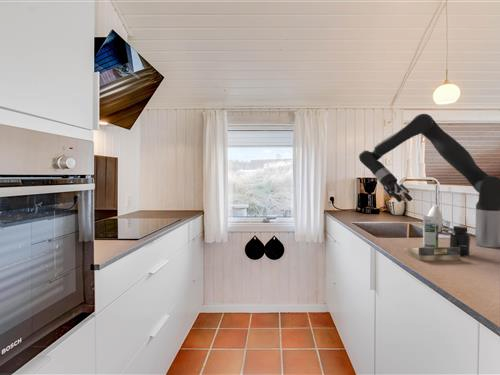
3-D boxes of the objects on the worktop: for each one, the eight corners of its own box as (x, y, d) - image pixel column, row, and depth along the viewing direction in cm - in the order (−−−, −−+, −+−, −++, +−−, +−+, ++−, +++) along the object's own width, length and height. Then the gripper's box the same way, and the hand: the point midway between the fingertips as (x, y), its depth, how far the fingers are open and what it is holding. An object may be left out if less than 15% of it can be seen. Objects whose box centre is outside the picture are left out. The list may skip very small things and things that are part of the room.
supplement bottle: (461, 257, 118) (461, 228, 117) (445, 253, 124) (446, 225, 124) (473, 255, 119) (474, 227, 119) (457, 251, 126) (458, 224, 125)
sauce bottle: (445, 232, 165) (446, 202, 164) (435, 233, 163) (436, 202, 162) (433, 230, 172) (433, 201, 172) (423, 231, 170) (423, 201, 169)
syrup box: (423, 247, 133) (424, 217, 132) (422, 245, 138) (423, 215, 138) (438, 249, 130) (438, 218, 130) (436, 246, 136) (437, 216, 135)
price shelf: (440, 251, 126) (440, 240, 126) (460, 260, 114) (460, 247, 113) (404, 252, 126) (404, 241, 126) (420, 260, 114) (420, 248, 114)
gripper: (381, 173, 147) (402, 196, 138) (398, 172, 154) (419, 195, 145) (372, 183, 152) (392, 206, 143) (389, 182, 159) (409, 204, 150)
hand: (406, 200), depth 144 cm, fingers open, 8 cm apart
